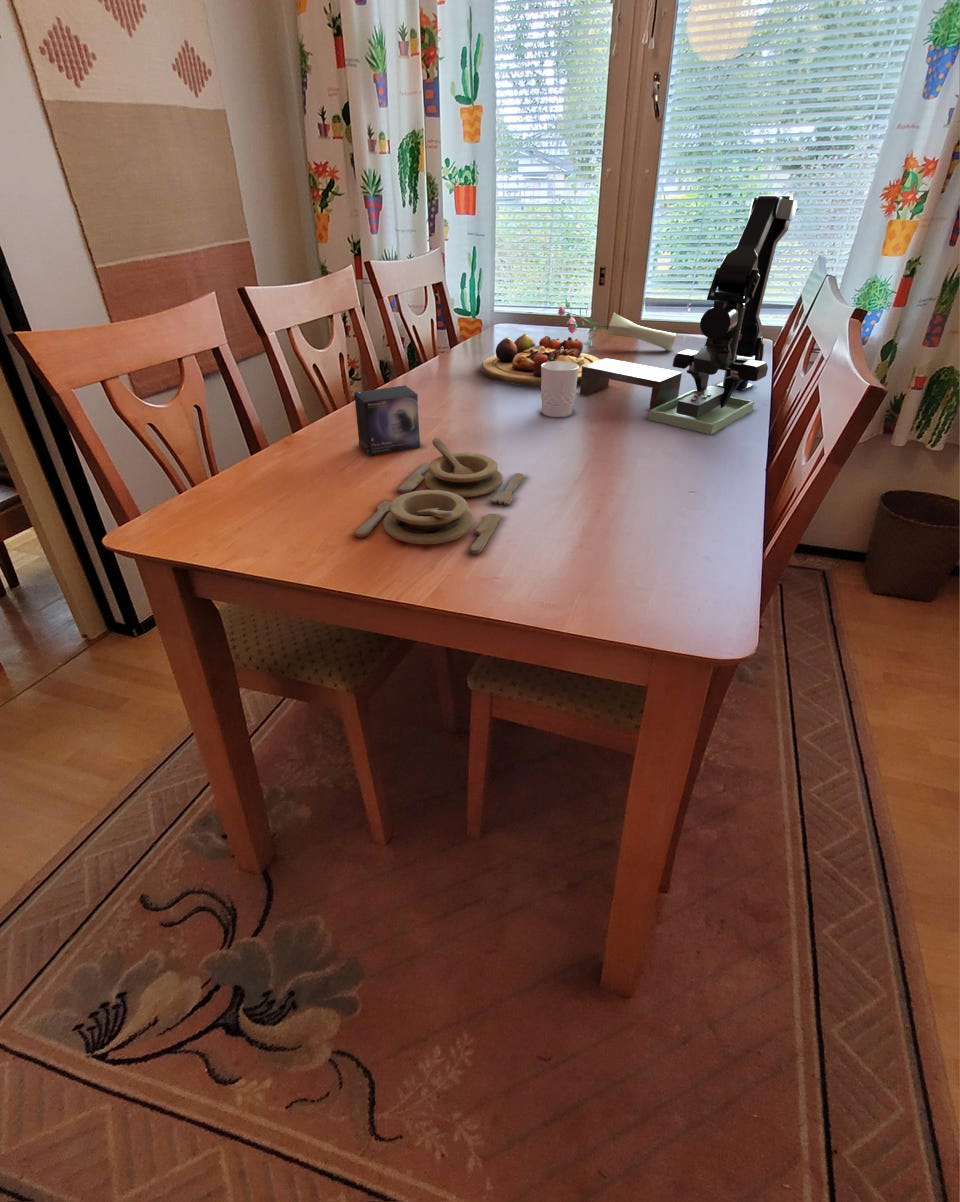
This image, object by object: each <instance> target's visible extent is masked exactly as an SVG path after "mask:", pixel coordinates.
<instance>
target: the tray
mask: <svg viewBox="0 0 960 1202" xmlns="http://www.w3.org/2000/svg"><path fill="white" fill-rule="evenodd" d="M696 392H697V389H692V390H689V391H688V392H686V393H683V394H682V395H678V397H677V398H675V399H673V400H671V401H669V402H666V403H664V404H662V405H660V406H658V407H656V408H654V409H652V410H650V411H649V412H648V420H649V421H652V422H657V423H662V424H666V425H670V426H674V427H677V428H678V427H679V428H681V429H682V428H683V429H687V430H690V431H695V432H700V433H703V434H707V435H713V434H715V433H717V432H718V431H720V430H723V428H725V427H727V426H729V425H730V424H732V423H734V422H736V421H737V420H738V419H740V418H742V417H744V416H746V415H747V414H749V413H750V412H752V411H754V410H753V409H754V405H755V401H753V400H749V399H745V398H744V399H743V398H739V397H733V396H731V397H730V398H729V400H728V401H727V403H726V405H725V406H724V407H723V408H720V406H721V405H720V406H718V407H716V408H714V409H712V410H710V411H708V412H707V413H705V414H703V415H701V416H699V417H697V418H695V417H690V416H686V415H681V414H677V413H676V411H677V405H678V401H679V400H681V399H683V398H686V397H688V396H690V395H692V394H694V393H696Z"/></svg>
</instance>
